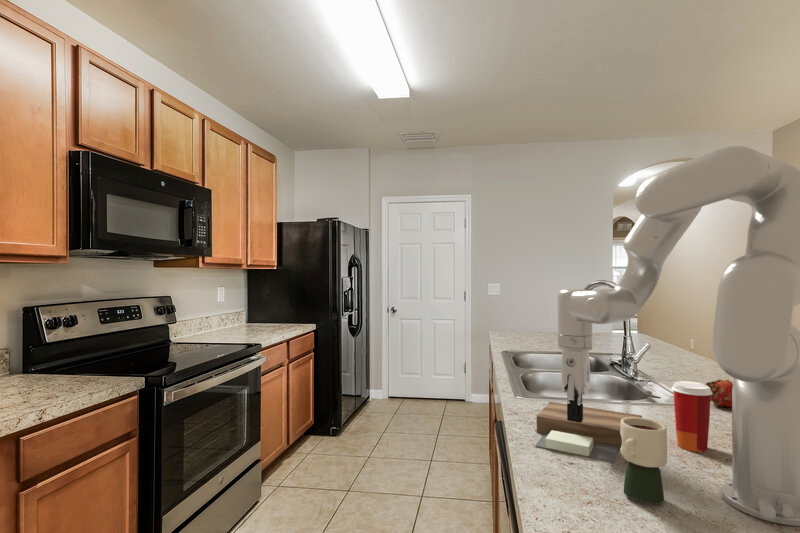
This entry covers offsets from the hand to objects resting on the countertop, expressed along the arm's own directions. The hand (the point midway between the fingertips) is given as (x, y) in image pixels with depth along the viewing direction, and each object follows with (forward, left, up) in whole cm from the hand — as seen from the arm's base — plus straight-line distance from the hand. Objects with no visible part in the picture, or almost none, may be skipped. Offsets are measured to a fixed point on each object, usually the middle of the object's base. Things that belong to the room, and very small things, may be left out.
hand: (575, 420), depth 104 cm
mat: (-4, -1, -5) cm, 6 cm away
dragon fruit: (+50, -32, -5) cm, 60 cm away
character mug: (-22, -15, -5) cm, 27 cm away
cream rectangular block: (-6, 0, -2) cm, 6 cm away
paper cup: (+9, -23, -5) cm, 25 cm away
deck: (+7, -2, -5) cm, 9 cm away
